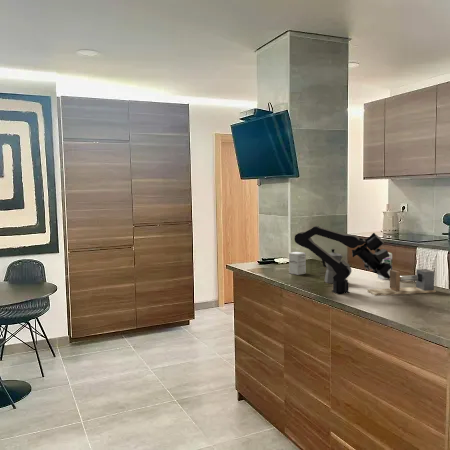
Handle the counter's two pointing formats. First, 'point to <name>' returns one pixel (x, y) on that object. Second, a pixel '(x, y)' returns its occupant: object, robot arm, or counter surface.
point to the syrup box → (387, 260)
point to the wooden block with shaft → (399, 279)
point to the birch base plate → (402, 291)
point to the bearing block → (425, 279)
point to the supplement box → (297, 263)
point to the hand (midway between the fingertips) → (389, 277)
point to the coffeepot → (330, 272)
